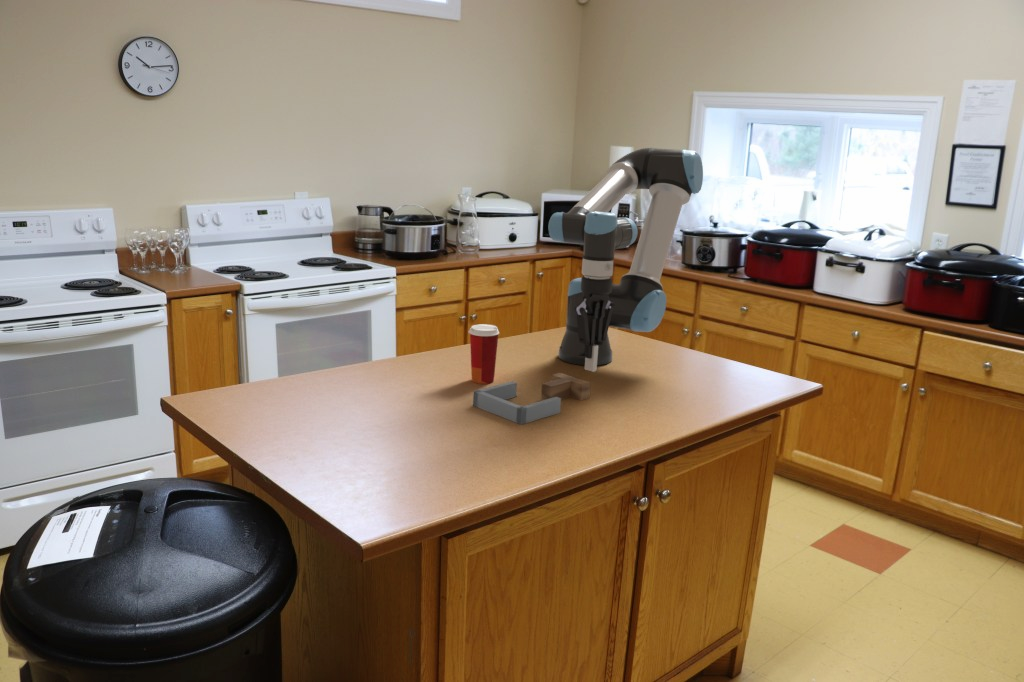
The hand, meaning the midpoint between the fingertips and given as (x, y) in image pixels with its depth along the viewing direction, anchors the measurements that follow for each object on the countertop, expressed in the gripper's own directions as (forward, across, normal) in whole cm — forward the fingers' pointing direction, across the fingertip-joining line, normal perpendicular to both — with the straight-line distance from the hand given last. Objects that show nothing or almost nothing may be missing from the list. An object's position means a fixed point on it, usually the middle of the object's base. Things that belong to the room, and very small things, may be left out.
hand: (590, 369), depth 210 cm
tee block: (+5, -10, 0) cm, 12 cm away
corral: (+5, -25, 0) cm, 26 cm away
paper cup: (+5, -17, +21) cm, 28 cm away
